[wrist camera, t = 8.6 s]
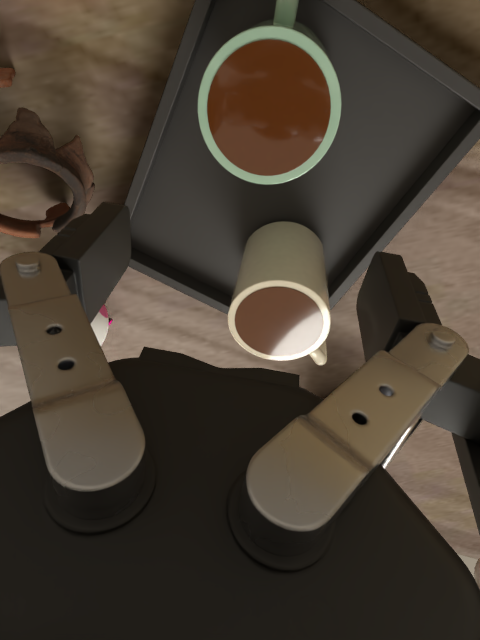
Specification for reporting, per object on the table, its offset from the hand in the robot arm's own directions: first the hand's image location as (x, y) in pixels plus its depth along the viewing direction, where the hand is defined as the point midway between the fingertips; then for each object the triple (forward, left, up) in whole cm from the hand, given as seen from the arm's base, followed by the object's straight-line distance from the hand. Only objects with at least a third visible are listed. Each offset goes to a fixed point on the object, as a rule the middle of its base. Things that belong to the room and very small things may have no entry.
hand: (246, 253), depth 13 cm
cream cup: (+6, -8, -16) cm, 19 cm away
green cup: (-2, +4, -16) cm, 17 cm away
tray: (+2, -3, -17) cm, 18 cm away
